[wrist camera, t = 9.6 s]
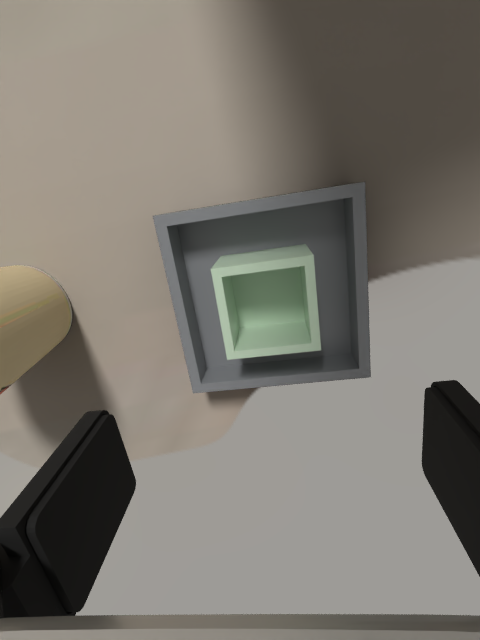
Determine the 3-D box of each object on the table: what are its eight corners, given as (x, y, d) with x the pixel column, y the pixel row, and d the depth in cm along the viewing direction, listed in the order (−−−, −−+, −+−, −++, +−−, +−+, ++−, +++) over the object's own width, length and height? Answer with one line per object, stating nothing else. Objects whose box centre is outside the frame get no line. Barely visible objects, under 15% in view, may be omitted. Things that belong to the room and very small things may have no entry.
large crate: (167, 213, 26) (152, 215, 23) (352, 183, 25) (365, 181, 21) (201, 372, 31) (193, 393, 28) (359, 356, 29) (370, 377, 26)
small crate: (221, 255, 26) (210, 269, 22) (305, 243, 26) (313, 254, 21) (234, 332, 29) (227, 359, 24) (312, 324, 28) (321, 350, 23)
